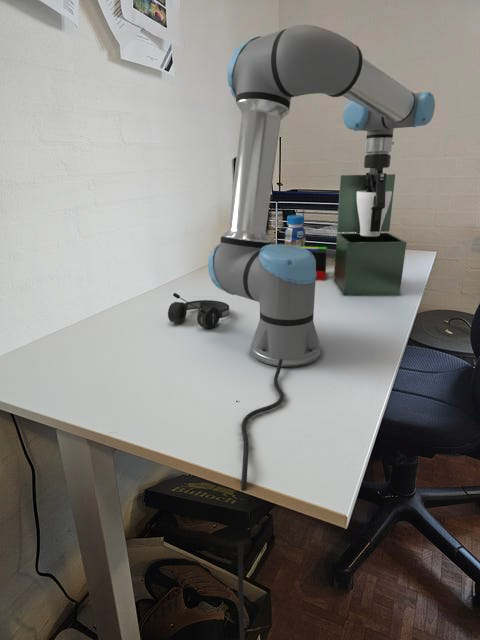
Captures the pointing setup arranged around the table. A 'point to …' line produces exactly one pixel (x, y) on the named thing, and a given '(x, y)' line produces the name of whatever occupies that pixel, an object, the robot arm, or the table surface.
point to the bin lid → (348, 202)
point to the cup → (369, 211)
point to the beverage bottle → (295, 231)
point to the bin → (369, 264)
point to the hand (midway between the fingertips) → (370, 228)
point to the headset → (205, 316)
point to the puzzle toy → (319, 260)
